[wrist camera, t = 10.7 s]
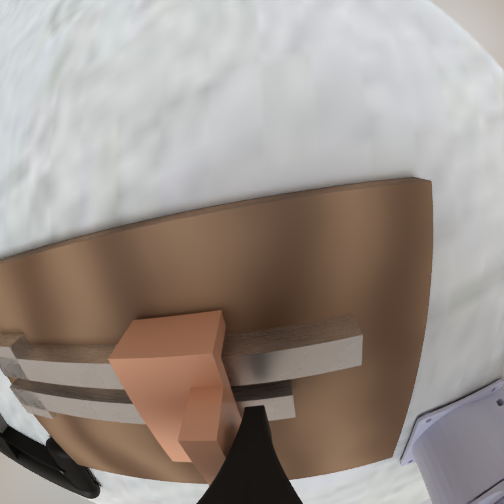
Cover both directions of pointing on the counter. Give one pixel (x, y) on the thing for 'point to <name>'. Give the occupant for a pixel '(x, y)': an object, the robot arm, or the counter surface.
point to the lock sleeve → (181, 386)
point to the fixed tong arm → (233, 355)
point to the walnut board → (248, 311)
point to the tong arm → (122, 409)
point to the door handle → (47, 461)
